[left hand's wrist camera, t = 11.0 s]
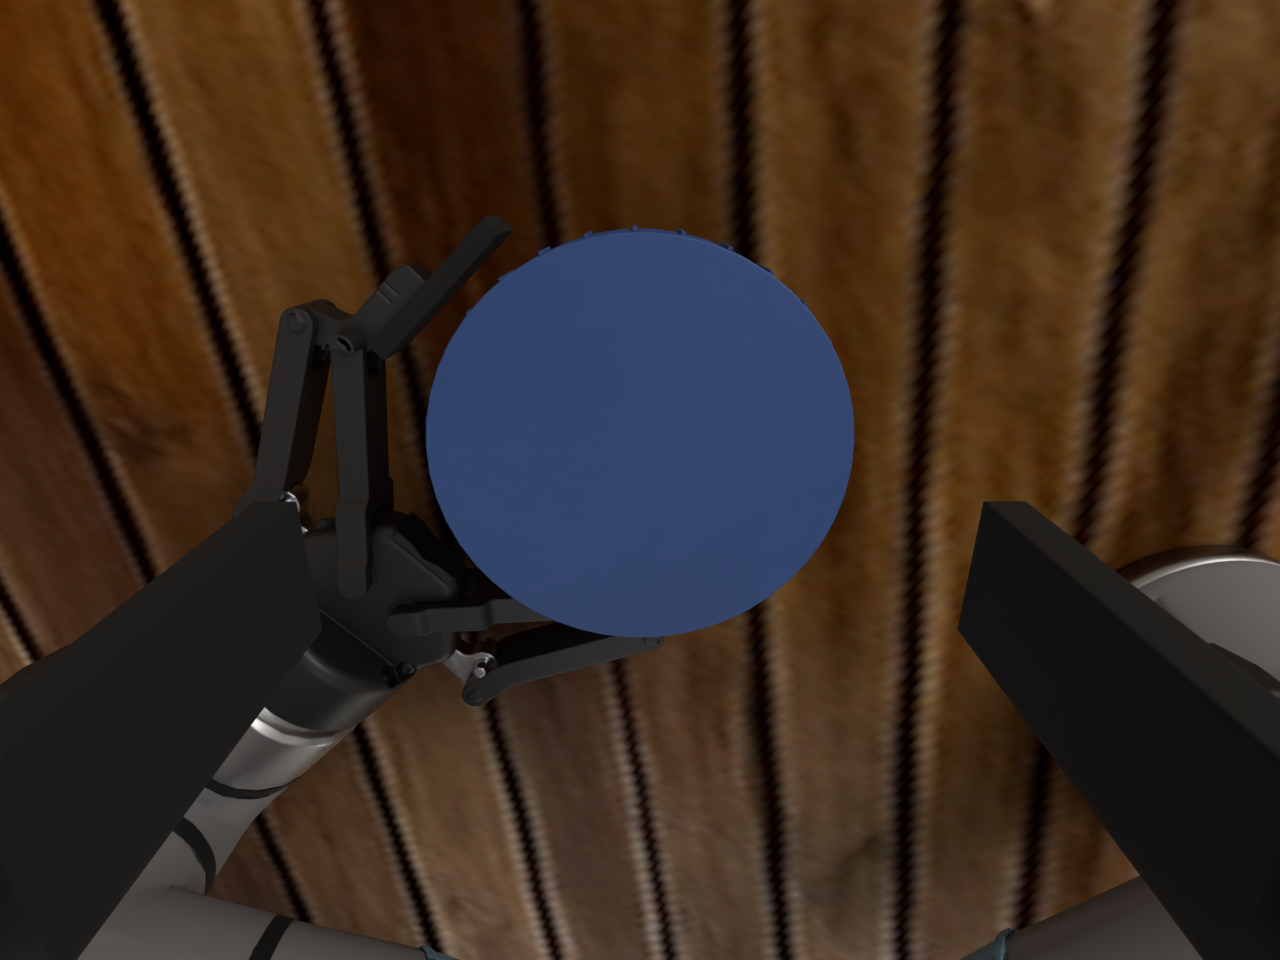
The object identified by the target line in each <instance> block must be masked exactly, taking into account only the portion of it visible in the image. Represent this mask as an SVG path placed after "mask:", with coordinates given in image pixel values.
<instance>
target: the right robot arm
mask: <svg viewBox="0 0 1280 960" xmlns="http://www.w3.org/2000/svg"><path fill="white" fill-rule="evenodd" d="M512 231H513V229H512V228H511V227H510V226H509V225H508V224H507V223H506V222H505V221H504V220H503V219H502V218H501V217H500V216H499V215H496V216H485V217H483V218H482V220H481V221H480V222H479V223H478V224H477V225H476V226H475V227H474V228H473V230H472V231H471V232H470V233H469V234H468V235H467V236H466V237H465V238H464V240H463V241H462V242H461V243H460V244H459V245H458V246H457V247H456V248H455V250H454V251H453V252H452V253H451V254H450V255H449V256H448V257H447V258H446V260H445V261H444V262H443V263H442V264H441V265H440V266H439V267H438V268H437V270H436V271H435V272H434V273H433V274H431V273H430V272H429V271H428V270H427V269H426V268H425V267H424V266H423V265H422V264H420V263H419V262H418V261H417V262H414V263H410V264H406V265H404V266H402V267H400V268H397V269H395V270H393V272H392V273H391V274H390V275H389V276H388V277H387V278H386V280H385V281H384V282H383V283H382V284H381V285H380V286H379V288H378V289H377V290H376V291H375V292H374V293H373V294H372V295H371V297H370V298H369V299H368V300H367V301H366V302H365V303H364V305H363V306H362V307H361V308H360V309H359V310H358V311H357V313H356V314H355V315H351V314H348V313H345V312H343V311H341V310H339V309H337V308H336V307H335V305H334V304H333V303H332V302H330V301H328V300H325V299H318V300H315V301H311V302H308V303H305V304H301V305H298V306H295V307H292V308H288V309H286V310H285V311H284V312H283V313H282V315H281V317H280V322H279V328H278V334H277V340H276V347H275V353H274V359H273V365H272V371H271V377H270V383H269V390H268V396H267V402H266V408H265V414H264V420H263V426H262V433H261V439H260V445H259V451H258V457H257V463H256V469H255V476H254V481H253V483H252V484H251V486H250V487H249V489H248V490H247V491H246V493H245V494H244V496H243V497H242V499H241V500H240V502H239V503H238V505H237V506H236V508H235V509H234V512H233V518H234V517H235V516H236V515H238V514H239V513H240V512H242V511H243V510H244V509H245V508H247V507H248V506H249V505H251V504H252V503H253V502H297V507H298V512H299V517H300V522H301V527H302V532H303V537H304V542H305V547H306V552H307V557H308V562H309V566H310V571H311V576H312V581H313V586H314V591H315V596H316V601H317V606H318V611H319V616H320V621H321V626H322V631H321V632H320V633H319V635H318V636H317V637H316V639H315V640H314V641H313V643H312V644H311V645H310V647H309V648H308V649H307V651H306V652H305V653H304V655H303V656H302V658H301V659H300V660H299V662H298V663H297V664H296V666H295V667H294V668H293V670H292V671H291V672H290V674H289V675H288V676H287V678H286V679H285V680H284V682H283V683H282V684H281V686H280V687H279V689H278V690H277V691H276V693H275V694H274V695H273V697H272V698H271V699H270V701H269V702H268V703H267V705H266V706H265V707H264V709H263V710H262V711H261V713H260V714H259V715H258V717H257V718H256V719H255V721H254V722H253V724H252V725H251V726H250V728H249V729H248V730H247V732H246V733H245V734H244V736H243V737H242V738H241V740H240V741H239V742H238V744H237V745H236V746H235V748H234V749H233V750H232V752H231V753H230V754H229V756H228V757H227V759H226V760H225V761H224V763H223V764H222V765H221V767H220V768H219V769H218V771H217V772H216V773H215V775H214V776H213V777H212V779H211V780H210V781H209V783H208V784H207V785H206V787H205V788H204V790H203V791H202V792H201V794H200V795H199V796H198V798H197V799H196V800H195V802H194V803H193V804H192V806H191V807H190V808H189V810H188V811H187V812H186V814H185V815H184V816H183V818H182V819H181V820H180V822H179V823H178V825H177V826H176V827H175V829H174V830H173V831H172V833H171V834H170V835H169V837H168V838H167V839H166V841H165V842H164V843H163V845H162V846H161V847H160V849H159V850H158V851H157V853H156V854H155V856H154V857H153V858H152V860H151V861H150V862H149V864H148V865H147V866H146V868H145V869H144V870H143V872H142V873H141V874H140V876H139V877H138V878H137V880H136V881H135V882H134V884H133V885H132V886H131V888H130V889H129V891H128V892H127V893H126V895H125V896H124V897H123V899H122V900H121V901H120V903H119V904H118V905H117V907H116V908H115V909H114V911H113V912H112V913H111V915H110V916H109V917H108V919H107V920H106V922H105V923H104V924H103V926H102V927H101V928H100V930H99V931H98V932H97V934H96V935H95V936H94V938H93V939H92V940H91V942H90V943H89V944H88V946H87V947H86V948H85V950H84V951H83V952H82V954H81V955H80V957H79V958H78V959H77V960H459V959H456V958H453V957H450V956H447V955H444V954H441V953H438V952H435V951H434V950H433V949H432V948H431V947H428V946H424V945H423V946H421V947H419V948H415V947H411V946H406V945H402V944H397V943H393V942H389V941H384V940H380V939H375V938H371V937H367V936H362V935H358V934H353V933H349V932H345V931H340V930H336V929H332V928H327V927H323V926H318V925H314V924H310V923H305V922H301V921H296V919H293V918H290V917H286V916H282V915H279V914H275V913H271V912H268V911H264V910H260V909H256V908H252V907H248V906H244V905H240V904H236V903H233V902H229V901H225V900H221V899H217V898H213V897H209V896H207V894H208V892H209V891H210V889H211V888H212V885H213V883H214V880H215V878H216V876H217V875H218V873H219V871H220V870H221V868H222V867H223V865H224V864H225V862H226V860H227V859H228V857H229V856H230V854H231V852H232V851H233V849H234V848H235V846H236V844H237V843H238V841H239V840H240V838H241V836H242V835H243V833H244V832H245V830H246V829H247V828H248V826H249V825H250V824H251V823H252V821H253V820H254V819H255V818H256V817H257V816H258V815H259V813H260V812H261V811H262V810H263V809H265V808H266V807H267V806H268V805H269V804H270V803H271V802H272V801H273V800H274V799H275V798H276V797H277V796H278V795H279V794H281V793H282V792H283V791H284V790H285V789H286V788H287V787H288V786H289V785H290V784H292V783H293V782H294V781H295V780H296V779H298V778H299V777H300V776H301V775H302V774H303V773H304V772H305V771H307V770H308V769H309V768H310V767H311V766H312V765H313V764H315V763H316V762H317V761H318V760H319V759H320V758H322V757H323V756H324V755H325V754H326V753H327V752H328V751H330V750H331V749H332V748H333V747H334V746H335V745H337V744H338V743H339V742H340V741H341V740H342V739H343V738H345V737H346V736H347V735H348V734H349V733H350V732H352V731H353V730H354V728H355V727H356V725H357V724H358V723H360V722H362V721H363V720H364V719H366V718H367V717H368V716H369V715H370V714H371V713H372V712H374V711H375V710H376V709H377V708H378V707H379V706H380V705H381V704H383V703H384V702H385V701H386V700H387V699H388V698H389V697H390V696H392V695H393V694H394V693H395V692H396V691H397V690H398V689H399V688H401V687H402V686H403V685H404V684H405V683H406V682H407V681H408V680H410V679H411V678H412V677H413V676H414V675H415V674H416V673H417V672H418V671H419V670H421V669H422V668H424V667H426V666H429V665H433V664H438V663H441V662H443V663H444V664H445V665H446V666H447V667H448V668H449V669H450V670H451V671H452V672H453V673H454V674H455V675H456V676H457V677H458V678H459V679H461V680H462V681H463V682H464V683H465V687H464V689H463V692H462V697H463V700H464V701H465V702H466V703H467V704H469V705H472V706H481V705H483V704H485V703H486V702H488V701H489V700H491V699H493V698H494V697H496V696H497V695H499V694H500V693H502V692H503V691H505V690H506V689H508V688H509V687H511V686H515V685H518V684H522V683H526V682H530V681H534V680H538V679H542V678H546V677H549V676H553V675H557V674H561V673H565V672H569V671H573V670H577V669H580V668H584V667H588V666H592V665H596V664H600V663H604V662H608V661H611V660H615V659H619V658H623V657H627V656H631V655H635V654H639V653H642V652H646V651H650V650H654V649H657V648H659V647H660V646H661V645H662V644H663V641H664V636H659V637H622V636H612V635H604V634H599V633H594V632H590V631H585V630H581V629H577V628H574V627H571V626H568V625H566V624H563V623H560V622H557V623H553V624H549V625H545V626H542V627H538V628H534V629H530V630H527V631H523V632H519V633H516V634H513V635H510V636H508V637H506V638H504V639H502V640H500V641H499V642H497V643H496V641H495V640H494V639H493V638H486V639H485V640H484V641H483V642H480V643H477V644H470V643H467V642H465V641H463V640H462V639H461V637H462V634H463V631H480V630H485V629H487V628H489V627H490V626H492V625H493V624H497V623H514V622H533V621H553V620H552V619H550V618H548V617H546V616H544V615H542V614H539V613H537V612H535V611H533V610H532V609H530V608H528V607H527V606H525V605H523V604H522V603H520V602H519V601H517V600H515V599H514V598H512V597H511V596H510V595H508V594H507V593H506V592H505V591H503V590H502V589H501V588H500V587H498V586H497V585H496V584H495V583H493V582H492V581H491V580H490V579H489V578H488V577H487V576H486V575H485V574H484V573H483V572H482V571H481V570H480V569H479V568H476V569H466V566H465V564H464V563H463V559H464V557H465V556H464V555H462V554H461V553H460V552H459V551H458V550H456V549H455V548H454V547H453V546H452V545H450V544H448V543H446V542H444V541H442V540H440V539H438V538H436V537H435V536H434V534H433V533H432V532H431V530H430V529H429V528H428V526H427V525H426V524H425V523H424V522H423V521H422V520H421V519H420V518H419V517H417V516H416V515H415V514H414V513H413V512H411V513H410V514H409V515H406V514H404V513H401V512H397V511H394V500H393V481H392V479H391V478H390V477H389V464H388V433H387V402H386V371H385V359H387V358H389V357H390V356H392V355H393V354H395V353H397V352H398V351H400V350H402V349H403V348H405V347H406V346H407V345H408V344H409V343H410V342H411V341H412V340H413V339H414V338H415V337H416V336H417V334H418V333H419V332H420V331H421V330H422V329H423V328H424V327H425V326H426V325H427V324H428V322H429V321H430V320H431V319H432V318H433V317H434V316H435V315H436V314H437V313H438V312H439V311H440V309H441V308H442V307H443V306H444V305H445V304H446V303H447V302H448V301H449V300H450V299H451V297H452V296H453V295H454V294H455V293H456V292H457V291H458V290H459V289H460V288H461V287H462V286H463V284H464V283H465V282H466V281H467V280H468V279H469V278H470V277H471V276H472V275H473V274H474V272H475V271H476V270H477V269H478V268H479V267H480V266H481V265H482V264H483V263H484V262H485V261H486V259H487V258H488V257H489V256H490V255H491V254H492V253H493V252H494V251H495V250H496V249H497V247H498V246H499V245H500V244H501V243H502V242H503V241H504V240H505V239H506V238H507V237H508V236H509V234H510V233H511V232H512ZM330 363H331V371H332V387H333V403H334V420H335V436H336V452H337V468H338V484H339V497H338V500H337V503H336V507H335V517H334V518H326V519H321V520H319V521H314V520H313V519H312V518H311V517H310V516H309V514H308V511H307V506H308V503H309V495H308V494H309V489H308V487H307V486H306V485H303V484H302V482H303V480H304V479H305V477H306V475H307V473H308V470H309V468H310V464H311V460H312V455H313V450H314V445H315V440H316V435H317V430H318V424H319V419H320V414H321V409H322V404H323V399H324V393H325V388H326V383H327V378H328V373H329V368H330ZM468 596H473V597H472V598H471V599H470V600H468V601H466V599H467V597H468Z"/></svg>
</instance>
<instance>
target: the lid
mask: <svg viewBox="0 0 1280 960" xmlns="http://www.w3.org/2000/svg"><path fill="white" fill-rule="evenodd" d="M583 236H584V237H581V238H578V239H575V240H571V241H568V242H566V243H564V244H562V245H560V246H558V247H555V248H553V249H551V248H550V246H549V247H547V248H545V249H543V250H541V251H539V252H538V254H539V256H537V257H535V258H533V259H532V260H530V261H528V262H527V263H525V264H524V265H522V266H521V267H519V268H518V269H516V270H514V271H510V272H508V273H507V274H505V275H503V276H501V277H500V278H498V280H499V281H500V282H499V283H497V284H496V285H495V286H494V287H493V288H492V289H490V290H489V291H488V292H487V293H486V294H485V295H484V296H483V297H482V298H481V299H480V300H479V302H478V303H477V304H476V305H475V306H474V307H473V308H471V309H469V310H468V311H467V312H466V314H467V315H466V316H465V318H464V320H463V321H462V323H461V324H460V326H459V327H458V329H457V330H456V332H455V333H454V335H453V336H452V338H451V340H450V341H449V343H448V346H447V348H446V349H445V350H444V352H443V353H444V354H443V356H442V359H441V361H440V363H439V365H438V368H437V371H436V375H435V378H434V381H433V385H432V388H431V391H430V397H429V403H428V410H427V417H426V451H427V459H428V466H429V473H430V477H431V480H432V484H433V488H434V491H435V495H436V498H437V501H438V503H439V505H440V508H441V510H442V513H443V515H444V517H445V520H446V522H447V524H448V525H449V527H450V529H451V530H452V532H453V534H454V536H455V537H456V539H457V541H458V542H459V544H460V545H461V547H462V548H463V549H464V551H465V552H466V553H467V554H468V556H469V557H470V558H471V560H472V561H473V562H474V564H475V565H476V566H477V567H478V568H479V569H480V570H481V571H482V572H483V573H484V574H485V575H486V576H487V577H488V578H489V579H490V580H491V581H492V582H493V583H495V584H496V585H497V586H498V587H500V588H501V589H502V590H503V591H505V592H506V593H507V594H508V595H510V596H511V597H512V598H514V599H515V600H517V601H519V602H520V603H522V604H523V605H525V606H527V607H528V608H530V609H532V610H533V611H535V612H537V613H539V614H542V615H544V616H546V617H548V618H550V619H552V620H554V621H557V622H560V623H563V624H566V625H568V626H571V627H574V628H577V629H581V630H585V631H590V632H594V633H599V634H604V635H612V636H622V637H659V636H667V635H676V634H682V633H686V632H690V631H694V630H699V629H703V628H706V627H709V626H712V625H714V624H717V623H720V622H723V621H726V620H728V619H730V618H732V617H734V616H736V615H738V614H740V613H742V612H744V611H746V610H749V609H750V608H752V607H753V606H755V605H757V604H758V603H760V602H761V601H763V600H764V599H766V598H767V597H769V596H771V595H772V594H773V593H774V592H775V591H777V590H778V589H779V588H780V587H782V586H783V585H784V584H785V583H786V582H788V581H789V580H790V579H791V578H792V577H793V576H794V575H795V574H796V573H797V572H798V571H799V570H800V569H801V568H802V566H803V565H804V564H805V563H806V562H807V561H808V560H809V559H810V557H811V556H812V554H813V553H814V552H815V550H816V549H817V548H818V546H819V545H820V544H821V542H822V541H823V539H824V538H825V536H826V534H827V532H828V530H829V529H830V527H831V525H832V523H833V521H834V520H835V518H836V515H837V513H838V510H839V508H840V505H841V503H842V500H843V498H844V495H845V492H846V488H847V484H848V480H849V476H850V472H851V467H852V458H853V449H854V416H853V410H852V404H851V398H850V392H849V387H848V384H847V381H846V378H845V375H844V372H843V369H842V366H841V363H840V360H839V358H838V356H837V354H836V352H835V350H834V348H833V346H832V342H831V340H829V338H828V336H827V335H826V333H825V332H824V330H823V329H822V327H821V326H820V324H819V323H818V321H817V320H816V318H815V317H814V315H813V314H812V313H811V312H810V311H809V309H808V308H807V306H808V305H807V304H806V303H805V302H804V301H802V300H801V299H799V298H798V297H797V296H796V295H795V294H794V293H793V292H792V291H791V290H790V289H789V288H787V287H786V286H785V285H784V284H782V283H781V282H780V281H779V280H778V279H776V278H775V277H774V276H773V274H774V272H773V271H771V270H770V269H768V268H766V267H764V266H762V265H759V266H758V265H756V264H754V263H753V262H751V261H750V260H748V259H746V258H745V257H743V256H741V255H739V254H737V253H735V252H734V251H732V249H733V247H731V246H729V245H727V244H725V243H721V245H718V244H716V243H713V242H711V241H709V240H706V239H703V238H699V237H695V236H692V235H688V234H686V232H685V231H684V230H682V229H678V232H674V231H667V230H659V229H637V225H633V227H632V229H620V230H613V231H607V232H600V233H595V234H593V233H592V231H589V232H587V233H585V234H584V235H583Z"/></svg>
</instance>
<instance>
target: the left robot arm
mask: <svg viewBox="0 0 1280 960" xmlns="http://www.w3.org/2000/svg"><path fill="white" fill-rule="evenodd" d="M321 631H322V626H321V621H320V616H319V611H318V606H317V601H316V596H315V591H314V586H313V581H312V576H311V571H310V566H309V562H308V557H307V552H306V547H305V542H304V537H303V532H302V527H301V522H300V517H299V512H298V507H297V502H253V503H252V504H251V505H249V506H248V507H247V508H245V509H244V510H243V511H242V512H240V513H239V514H238V515H236V516H235V517H234V518H233V519H231V520H230V521H229V522H227V523H226V524H225V525H224V526H222V527H221V528H220V529H218V530H217V531H216V532H215V533H213V534H212V535H211V536H209V537H208V538H207V539H206V540H204V541H203V542H202V543H200V544H199V545H198V546H197V547H195V548H194V549H193V550H191V551H190V552H189V553H188V554H186V555H185V556H184V557H182V558H181V559H180V560H179V561H177V562H176V563H175V564H173V565H172V566H171V567H170V568H168V569H167V570H166V571H164V572H163V573H162V574H161V575H159V576H158V577H157V578H155V579H154V580H153V581H152V582H150V583H149V584H148V585H146V586H145V587H144V588H143V589H141V590H140V591H139V592H137V593H136V594H135V595H134V596H132V597H131V598H130V599H128V600H127V601H126V602H125V603H123V604H122V605H121V606H119V607H118V608H117V609H116V610H114V611H113V612H112V613H110V614H109V615H108V616H107V617H105V618H104V619H103V620H101V621H100V622H99V623H98V624H96V625H95V626H94V627H92V628H91V629H90V630H89V631H87V632H86V633H85V634H83V635H82V636H81V637H80V638H78V639H77V640H76V641H74V642H73V643H72V644H71V645H69V646H65V647H63V648H61V649H59V650H57V651H55V652H54V653H52V654H50V655H48V656H46V657H44V658H42V659H40V660H38V661H36V662H34V663H32V664H30V665H28V666H26V667H24V668H22V669H21V670H20V671H18V672H17V673H16V674H14V675H13V676H12V677H10V678H9V679H8V680H6V681H5V682H4V683H2V684H1V685H0V960H77V959H78V958H79V957H80V955H81V954H82V952H83V951H84V950H85V948H86V947H87V946H88V944H89V943H90V942H91V940H92V939H93V938H94V936H95V935H96V934H97V932H98V931H99V930H100V928H101V927H102V926H103V924H104V923H105V922H106V920H107V919H108V917H109V916H110V915H111V913H112V912H113V911H114V909H115V908H116V907H117V905H118V904H119V903H120V901H121V900H122V899H123V897H124V896H125V895H126V893H127V892H128V891H129V889H130V888H131V886H132V885H133V884H134V882H135V881H136V880H137V878H138V877H139V876H140V874H141V873H142V872H143V870H144V869H145V868H146V866H147V865H148V864H149V862H150V861H151V860H152V858H153V857H154V856H155V854H156V853H157V851H158V850H159V849H160V847H161V846H162V845H163V843H164V842H165V841H166V839H167V838H168V837H169V835H170V834H171V833H172V831H173V830H174V829H175V827H176V826H177V825H178V823H179V822H180V820H181V819H182V818H183V816H184V815H185V814H186V812H187V811H188V810H189V808H190V807H191V806H192V804H193V803H194V802H195V800H196V799H197V798H198V796H199V795H200V794H201V792H202V791H203V790H204V788H205V787H206V785H207V784H208V783H209V781H210V780H211V779H212V777H213V776H214V775H215V773H216V772H217V771H218V769H219V768H220V767H221V765H222V764H223V763H224V761H225V760H226V759H227V757H228V756H229V754H230V753H231V752H232V750H233V749H234V748H235V746H236V745H237V744H238V742H239V741H240V740H241V738H242V737H243V736H244V734H245V733H246V732H247V730H248V729H249V728H250V726H251V725H252V724H253V722H254V721H255V719H256V718H257V717H258V715H259V714H260V713H261V711H262V710H263V709H264V707H265V706H266V705H267V703H268V702H269V701H270V699H271V698H272V697H273V695H274V694H275V693H276V691H277V690H278V689H279V687H280V686H281V684H282V683H283V682H284V680H285V679H286V678H287V676H288V675H289V674H290V672H291V671H292V670H293V668H294V667H295V666H296V664H297V663H298V662H299V660H300V659H301V658H302V656H303V655H304V653H305V652H306V651H307V649H308V648H309V647H310V645H311V644H312V643H313V641H314V640H315V639H316V637H317V636H318V635H319V633H320V632H321ZM958 631H959V632H960V633H961V635H962V636H963V637H964V639H965V640H966V641H967V643H968V644H969V645H970V647H971V648H972V649H973V651H974V652H975V653H976V655H977V656H978V658H979V659H980V660H981V662H982V663H983V664H984V666H985V667H986V668H987V670H988V671H989V672H990V674H991V675H992V676H993V678H994V679H995V680H996V682H997V683H998V684H999V686H1000V687H1001V689H1002V690H1003V691H1004V693H1005V694H1006V695H1007V697H1008V698H1009V699H1010V701H1011V702H1012V703H1013V705H1014V706H1015V707H1016V709H1017V710H1018V711H1019V713H1020V714H1021V715H1022V717H1023V718H1024V719H1025V721H1026V722H1027V724H1028V725H1029V726H1030V728H1031V729H1032V730H1033V732H1034V733H1035V734H1036V736H1037V737H1038V738H1039V740H1040V741H1041V742H1042V744H1043V745H1044V746H1045V748H1046V749H1047V750H1048V752H1049V753H1050V754H1051V756H1052V757H1053V759H1054V760H1055V761H1056V763H1057V764H1058V765H1059V767H1060V768H1061V769H1062V771H1063V772H1064V773H1065V775H1066V776H1067V777H1068V779H1069V780H1070V781H1071V783H1072V784H1073V785H1074V787H1075V788H1076V790H1077V791H1078V792H1079V794H1080V795H1081V796H1082V798H1083V799H1084V800H1085V802H1086V803H1087V804H1088V806H1089V807H1090V808H1091V810H1092V811H1093V812H1094V814H1095V815H1096V816H1097V818H1098V819H1099V820H1100V822H1101V823H1102V825H1103V826H1104V827H1105V829H1106V830H1107V831H1108V833H1109V834H1110V835H1111V837H1112V838H1113V839H1114V841H1115V842H1116V843H1117V845H1118V846H1119V847H1120V849H1121V850H1122V851H1123V853H1124V854H1125V856H1126V857H1127V858H1128V860H1129V861H1130V862H1131V864H1132V865H1133V866H1134V868H1135V869H1136V870H1137V872H1138V873H1139V874H1140V876H1138V877H1136V878H1134V879H1132V880H1129V881H1127V882H1125V883H1123V884H1121V885H1118V886H1116V887H1114V888H1112V889H1110V890H1108V891H1105V892H1103V893H1101V894H1099V895H1097V896H1095V897H1092V898H1090V899H1088V900H1086V901H1084V902H1082V903H1079V904H1077V905H1075V906H1073V907H1071V908H1069V909H1066V910H1064V911H1062V912H1060V913H1058V914H1056V915H1053V916H1051V917H1049V918H1047V919H1045V920H1042V921H1040V922H1038V923H1036V924H1033V925H1031V926H1029V927H1026V928H1024V929H1022V930H1020V931H1017V932H1016V931H1015V930H1012V929H1010V928H1008V929H1006V930H1003V931H1001V932H1000V933H998V935H997V937H996V938H995V941H993V942H991V943H990V944H988V945H986V946H984V947H982V948H980V949H978V950H976V951H975V952H973V953H971V954H969V955H967V956H965V957H963V958H962V959H960V960H1280V561H1278V560H1276V559H1275V558H1273V557H1271V556H1268V555H1266V554H1264V553H1261V552H1258V551H1255V550H1251V549H1248V548H1243V547H1237V546H1228V545H1203V546H1192V547H1186V548H1180V549H1176V550H1172V551H1168V552H1164V553H1161V554H1158V555H1155V556H1152V557H1149V558H1147V559H1144V560H1142V561H1139V562H1137V563H1135V564H1133V565H1131V566H1129V567H1127V568H1125V569H1123V570H1121V571H1119V572H1118V573H1117V572H1116V571H1114V570H1113V569H1112V568H1110V567H1109V566H1108V565H1107V564H1105V563H1104V562H1103V561H1101V560H1100V559H1099V558H1098V557H1096V556H1095V555H1094V554H1092V553H1091V552H1090V551H1089V550H1087V549H1086V548H1085V547H1083V546H1082V545H1081V544H1080V543H1078V542H1077V541H1076V540H1074V539H1073V538H1072V537H1071V536H1069V535H1068V534H1067V533H1065V532H1064V531H1063V530H1062V529H1060V528H1059V527H1058V526H1056V525H1055V524H1054V523H1053V522H1051V521H1050V520H1049V519H1047V518H1046V517H1045V516H1044V515H1042V514H1041V513H1040V512H1038V511H1037V510H1036V509H1035V508H1033V507H1032V506H1031V505H1029V504H1028V503H1027V502H983V507H982V512H981V517H980V522H979V527H978V532H977V537H976V542H975V547H974V552H973V557H972V562H971V566H970V571H969V576H968V581H967V586H966V591H965V596H964V601H963V606H962V611H961V616H960V621H959V626H958Z"/></svg>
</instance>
